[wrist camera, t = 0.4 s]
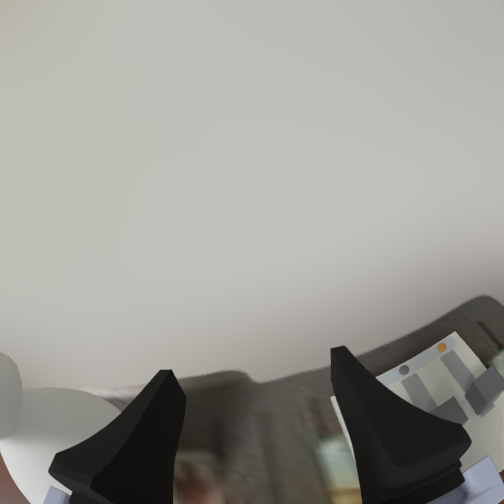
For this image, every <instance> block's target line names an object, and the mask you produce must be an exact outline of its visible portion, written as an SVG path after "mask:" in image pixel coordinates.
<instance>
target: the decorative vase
mask: <svg viewBox="0 0 504 504" xmlns="http://www.w3.org/2000/svg"><path fill="white" fill-rule="evenodd" d="M120 413H122V412H121V411H120V410H119V409H117V408H116V407H115V406H113V405H112V404H110V403H109V402H107V401H106V400H104V399H102V398H100V397H98V396H96V395H94V394H91V393H88V392H84V391H80V390H74V389H67V388H36V389H25V390H22V384H21V378H20V373H19V370H18V368H17V366H16V364H15V362H13V360H12V359H11V358H10V357H9V356H7V355H5V354H3V353H0V451H1V454H2V457H3V459H4V462H5V464H6V466H7V468H8V471H9V473H10V475H11V476H12V478H13V480H14V481H15V483H16V484H17V486H18V488H19V489H20V491H21V492H22V493H23V495H24V496H25V497H26V498H27V499H28V501H29V502H30V503H31V504H43V502H44V500H45V497H46V495H47V492H48V490H49V487H50V486H53V487H55V488H57V489H59V490H61V491H63V492H65V493H67V494H69V495H71V494H72V491H71V490H69V489H68V488H66V487H65V486H63V485H62V484H61V483H59V482H58V481H57V480H55V479H54V478H53V477H52V476H51V475H50V474H49V473H48V469H49V467H50V465H51V463H52V461H53V458H54V456H55V454H56V453H58V452H60V451H63V450H65V449H68V448H70V447H72V446H75V445H77V444H79V443H80V442H82V441H84V440H86V439H88V438H89V437H91V436H92V435H94V434H95V433H97V432H98V431H100V430H101V429H103V428H104V427H105V426H107V425H108V424H109V423H110V422H111V421H113V420H114V419H115V418H116V417H117V416H118V415H119V414H120Z"/></svg>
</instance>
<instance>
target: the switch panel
mask: <svg viewBox="0 0 504 504" xmlns="http://www.w3.org/2000/svg"><path fill="white" fill-rule="evenodd" d="M486 370H487V369H486V367H485V366H484V365H483V364H482V362H481V361H480V360H479V359H478V358H477V356H476V355H475V354H474V353H473V351H472V350H471V349H470V348H469V347H468V346H467V344H466V343H465V342H464V341H463V340H462V339H461V337H460V336H459V335H458V334H457V333H456V332H455V331H454V332H453V333H452V334H450V335H449V336H447V337H446V338H444V339H443V340H441V341H439V342H438V343H436V344H435V345H433V346H432V347H430V348H428V349H427V350H425V351H423V352H422V353H420V354H418V355H417V356H415V357H413V358H411V359H410V360H408V361H406V362H404V363H403V364H401V365H399V366H397V367H395V368H393V369H391V370H389V371H387V372H386V373H384V374H382V375H380V376H378V377H375V378H376V379H378V380H379V381H380V382H381V383H382V384H384V385H385V386H386V387H387V388H389V389H390V390H391V391H392V392H394V393H395V394H397V395H398V396H400V397H401V398H403V399H404V400H406V401H407V402H409V403H411V404H412V405H414V406H416V407H418V408H420V409H422V410H424V411H426V412H428V413H429V412H431V411H432V410H434V409H435V408H437V407H438V406H440V405H441V404H443V403H444V402H446V401H447V400H449V399H450V398H452V397H453V396H454V397H455V398H456V400H457V401H458V403H459V405H460V406H461V408H462V409H463V411H464V412H465V414H466V415H467V417H468V420H467V422H466V423H465V424H464V425H463V427H464V429H465V430H466V431H467V433H468V434H469V436H470V438H471V440H472V443H471V446H470V447H469V449H468V450H467V451H466V452H465V454H464V455H463V456H462V457H461V458H460V461H461V463H462V467H461V468H460V470H461V472H463V471H465V470H466V469H468V468H469V467H471V466H472V465H474V464H475V463H477V462H478V461H480V460H481V459H483V458H484V457H486V456H487V455H490V456H491V458H492V460H493V462H494V464H495V466H496V468H497V470H498V472H499V473H500V472H501V471H502V470H503V469H504V391H503V392H502V393H501V394H500V396H499V397H498V398H497V399H496V400H495V401H494V402H493V403H492V404H491V405H490V406H489V407H487V408H486V409H485V410H484V411H483V412H482V413H480V414H479V415H478V416H477V414H476V413H475V411H474V410H473V408H472V407H471V405H470V404H469V402H468V401H467V399H466V398H465V394H466V392H467V391H468V389H469V387H470V386H471V384H472V382H473V381H474V380H475V379H477V378H478V377H479V376H480V375H481V374H483V373H484V372H485V371H486ZM331 401H332V405H333V408H334V410H335V413H336V415H337V418H338V420H339V423H340V425H341V428H342V430H343V433H344V435H345V438H346V440H347V443H348V445H349V448H350V450H351V453H352V456H353V458H354V461H355V457H354V452H353V448H352V443H351V440H350V437H349V434H348V431H347V428H346V425H345V423H344V420H343V417H342V414H341V412H340V409H339V406H338V403H337V401H336V398H335V396H333V397H331ZM355 463H356V461H355Z"/></svg>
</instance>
